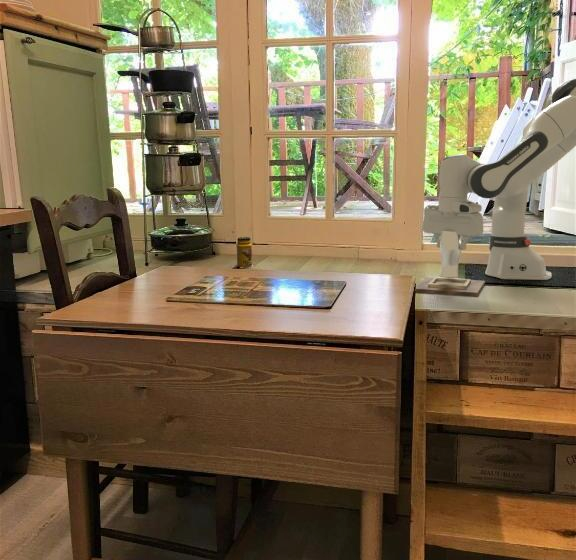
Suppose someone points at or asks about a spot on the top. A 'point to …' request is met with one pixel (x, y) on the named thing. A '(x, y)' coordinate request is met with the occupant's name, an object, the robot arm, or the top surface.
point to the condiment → (244, 253)
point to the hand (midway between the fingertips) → (451, 248)
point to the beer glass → (450, 254)
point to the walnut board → (450, 286)
